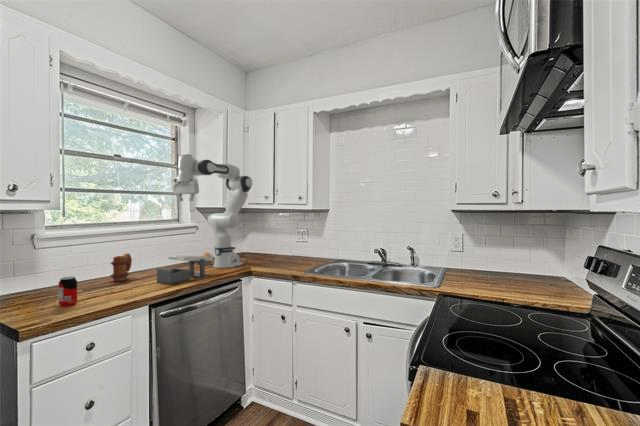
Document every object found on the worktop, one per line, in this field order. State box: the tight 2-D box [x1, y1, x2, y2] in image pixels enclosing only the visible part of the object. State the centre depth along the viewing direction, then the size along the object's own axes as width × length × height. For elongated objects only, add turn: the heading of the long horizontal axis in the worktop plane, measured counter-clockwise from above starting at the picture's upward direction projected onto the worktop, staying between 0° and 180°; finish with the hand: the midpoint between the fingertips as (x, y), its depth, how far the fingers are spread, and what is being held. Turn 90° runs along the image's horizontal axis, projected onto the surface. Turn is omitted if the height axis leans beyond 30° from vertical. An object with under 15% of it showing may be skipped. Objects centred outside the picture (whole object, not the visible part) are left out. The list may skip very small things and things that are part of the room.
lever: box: [168, 254, 215, 266], centre depth 197 cm, size 22×16×6 cm
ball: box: [202, 252, 211, 257], centre depth 202 cm, size 4×4×4 cm
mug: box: [110, 253, 133, 282], centre depth 187 cm, size 15×8×15 cm, turn 179°
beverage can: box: [58, 276, 78, 307], centre depth 138 cm, size 6×6×12 cm
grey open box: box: [156, 267, 191, 286], centre depth 182 cm, size 13×13×8 cm
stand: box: [188, 259, 211, 279], centre depth 196 cm, size 8×14×11 cm, turn 60°
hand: (186, 201), depth 202 cm, fingers open, 8 cm apart
